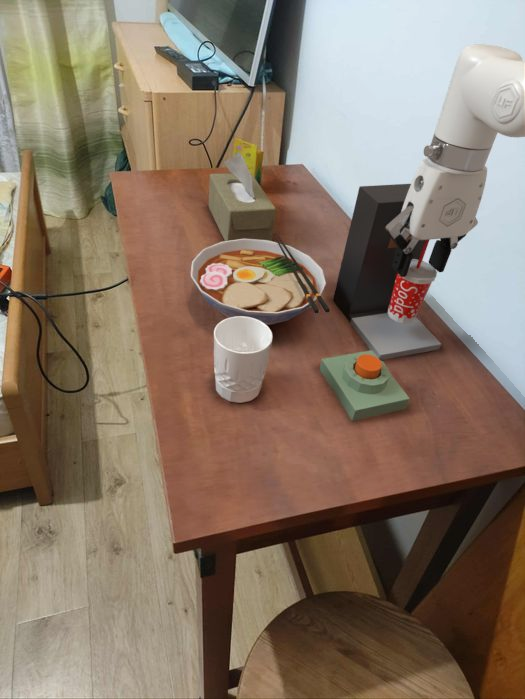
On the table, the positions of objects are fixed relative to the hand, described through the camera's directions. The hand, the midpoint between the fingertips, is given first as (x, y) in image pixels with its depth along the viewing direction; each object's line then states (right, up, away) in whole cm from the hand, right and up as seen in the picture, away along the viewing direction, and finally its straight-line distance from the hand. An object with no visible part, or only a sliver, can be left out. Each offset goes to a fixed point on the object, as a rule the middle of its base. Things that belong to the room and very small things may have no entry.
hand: (417, 268), depth 79 cm
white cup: (-28, -18, -4) cm, 33 cm away
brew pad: (-9, -18, -2) cm, 21 cm away
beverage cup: (-1, -7, +6) cm, 9 cm away
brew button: (-9, -16, -4) cm, 19 cm away
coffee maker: (-3, -8, +11) cm, 14 cm away
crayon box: (-28, +28, +50) cm, 64 cm away
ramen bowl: (-26, -5, +11) cm, 28 cm away
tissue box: (-29, +15, +34) cm, 47 cm away
